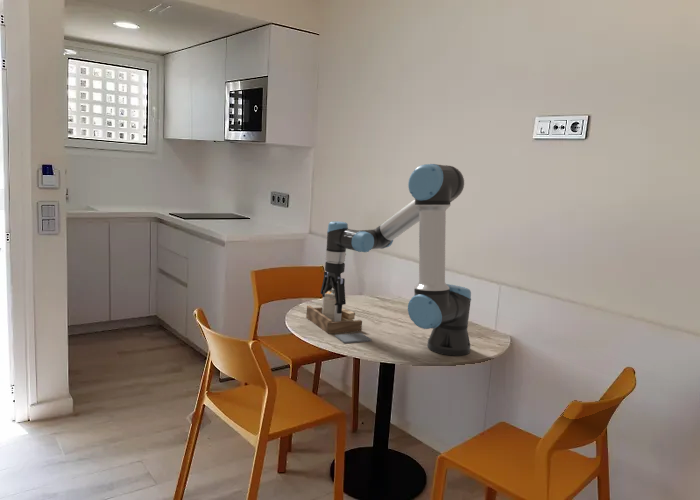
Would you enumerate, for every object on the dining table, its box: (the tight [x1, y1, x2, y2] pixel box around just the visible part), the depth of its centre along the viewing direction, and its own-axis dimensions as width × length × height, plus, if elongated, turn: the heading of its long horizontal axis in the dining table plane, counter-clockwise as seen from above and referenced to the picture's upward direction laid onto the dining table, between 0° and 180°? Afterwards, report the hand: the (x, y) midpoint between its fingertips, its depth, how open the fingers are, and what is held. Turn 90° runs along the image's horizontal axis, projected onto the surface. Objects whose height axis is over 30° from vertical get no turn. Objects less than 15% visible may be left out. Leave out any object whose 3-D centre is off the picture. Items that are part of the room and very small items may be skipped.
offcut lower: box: [338, 317, 355, 322], centre depth 224 cm, size 9×3×3 cm, turn 28°
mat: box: [334, 332, 373, 344], centre depth 206 cm, size 8×11×1 cm
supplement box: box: [323, 289, 338, 322], centre depth 221 cm, size 8×5×13 cm, turn 169°
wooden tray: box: [305, 305, 363, 335], centre depth 222 cm, size 21×14×5 cm, turn 26°
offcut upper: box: [341, 308, 356, 320], centre depth 224 cm, size 7×3×2 cm, turn 41°
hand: (331, 317), depth 222 cm, fingers open, 11 cm apart
